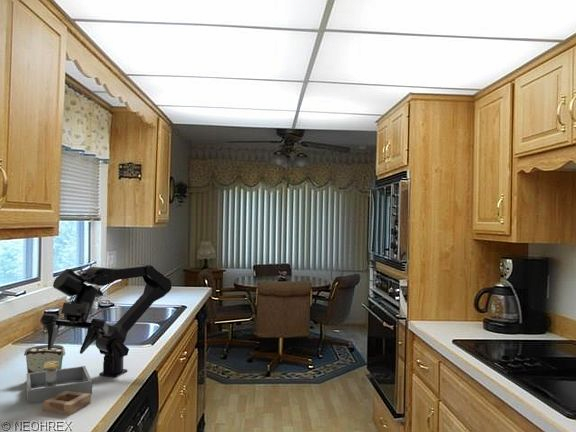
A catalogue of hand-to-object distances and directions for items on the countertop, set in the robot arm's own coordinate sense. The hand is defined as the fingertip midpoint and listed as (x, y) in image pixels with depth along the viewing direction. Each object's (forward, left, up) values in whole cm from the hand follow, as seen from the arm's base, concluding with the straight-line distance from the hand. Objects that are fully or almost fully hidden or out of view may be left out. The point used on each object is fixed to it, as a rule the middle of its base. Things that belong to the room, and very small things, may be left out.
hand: (64, 351), depth 137 cm
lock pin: (+4, -1, -12) cm, 13 cm away
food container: (-11, -15, -13) cm, 22 cm away
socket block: (+10, +10, -13) cm, 19 cm away
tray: (0, -2, -13) cm, 13 cm away
